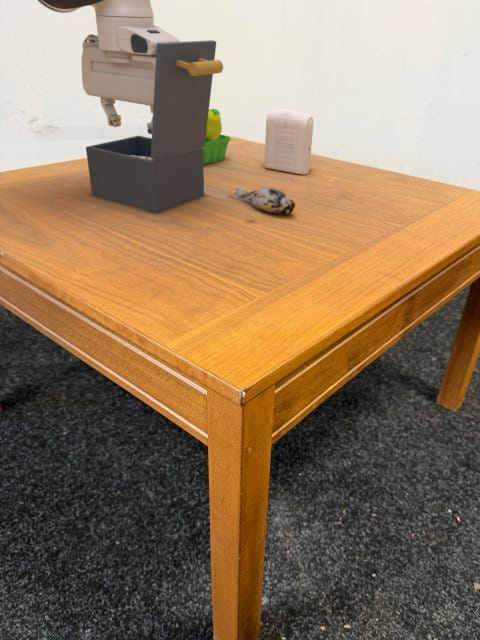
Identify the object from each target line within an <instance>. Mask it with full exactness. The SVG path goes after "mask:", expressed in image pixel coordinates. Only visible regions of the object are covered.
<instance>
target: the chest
mask: <svg viewBox="0 0 480 640" xmlns="http://www.w3.org/2000/svg"><path fill="white" fill-rule="evenodd" d="M151 143H152V137H148V136H144V135H143V136H142V135H135V136H130V137H126V138H121V139H116V140H111V141H106V142H102V143H97V144H93V145H89V146H88V145H87V146H86V147H85V152H86V160H87V167H88V174H89V182H90V189H91V196H93V197H96V198H100V199H103V200H107V201H111V202H114V203H117V204H121V205H124V206H127V207H131V208H134V209H139V210H142V211H145V212H149V213H152V214H154V215H155V214H156V215H157V214H160V213H162V212H165V211H168V210H170V209H173V208H176V207H178V206H181V205H185V204H187V203H189V202H192V201H195V200H198V199H200V198H203V197H205V177H204V175H205V174H204V173H205V172H204V165H203V149H202V148H197V149H193V150H190V151H186V152H182V153H178V154H175V155H171V156H167V157H164V158H160V159H157V160H153V161H152V160H147V159H143V158H139V157H134V156H130V155H135V156H145V157H151Z"/></svg>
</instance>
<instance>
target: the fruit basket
mask: <svg viewBox="0 0 480 640" xmlns="http://www.w3.org/2000/svg"><path fill="white" fill-rule="evenodd" d="M221 121H222V119H221V112H220V111H219V110H218V109H216V108H209V112H208V121H207V130H206V139H205V147H201V148H202V149H203V166H204V165H208V164H212V163H217V162H220V161H224V160H225V157H226V152H227V149H228V146H229V142H230V140H231V136H229V135H224V134H222V129H223V128H222V122H221Z"/></svg>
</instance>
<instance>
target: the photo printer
mask: <svg viewBox="0 0 480 640" xmlns="http://www.w3.org/2000/svg"><path fill="white" fill-rule="evenodd" d="M265 120H266V121H265V142H264V162H263V167H264V168H265V169H270V170H276V171H281V172H286V173H291V174H297V175H301V176H303V175H308V174H309V172H310V165H311V156H312V143H313V134H314V133H313V132H314V118H313V116H312V115H310V114H309V113H306V112H304V111H302V110H299V109H295V108H291V107H290V108H289V107H288V108H287V107H285V108H277V109H272V110H269V111H268V113H267V116H266V119H265Z"/></svg>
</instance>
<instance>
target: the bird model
mask: <svg viewBox="0 0 480 640" xmlns="http://www.w3.org/2000/svg"><path fill="white" fill-rule="evenodd" d="M235 191H236V192H233V194H232V195H231V196H230V197H232V198H234V199H237V200H240V201H245V202H247V203H248V204H249V205H251V207H253V208H255V209H256V210H258V211H261V212H264V213H267V214H275V215H291V214H292V212H293V211H294V209H295V207H296V203H295V202H294V201H295V200H294V199H291V197H289V196H287V194H286V193H285V192H284V191H282V190H279V189H278V188H276V187H275V188H274V187H261V188H259V189H257V190H254V191H253V190H252V191H247V190H244V189H242V188H235Z"/></svg>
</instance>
